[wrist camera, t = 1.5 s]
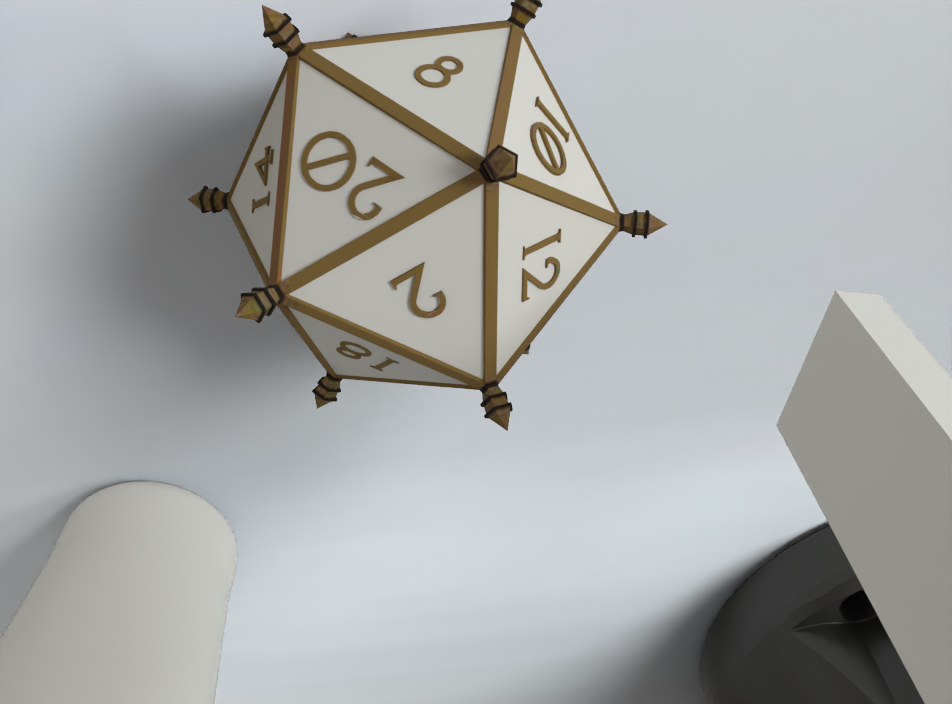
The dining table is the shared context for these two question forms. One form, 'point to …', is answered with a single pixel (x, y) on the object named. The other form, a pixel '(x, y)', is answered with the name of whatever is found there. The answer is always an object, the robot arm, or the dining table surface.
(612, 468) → the dining table surface
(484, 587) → the dining table surface
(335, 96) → the game die
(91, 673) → the drinking glass
